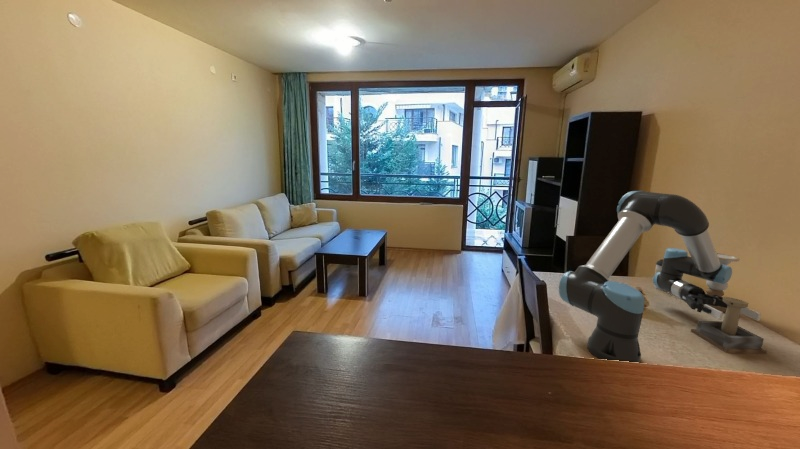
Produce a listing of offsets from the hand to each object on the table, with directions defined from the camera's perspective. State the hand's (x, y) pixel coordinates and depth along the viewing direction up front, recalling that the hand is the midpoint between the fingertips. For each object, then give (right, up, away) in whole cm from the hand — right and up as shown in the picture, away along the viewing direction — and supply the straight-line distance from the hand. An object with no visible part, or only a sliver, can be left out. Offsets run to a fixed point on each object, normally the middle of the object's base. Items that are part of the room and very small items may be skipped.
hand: (740, 316), depth 116 cm
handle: (-1, -10, +4) cm, 11 cm away
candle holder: (+23, -5, +35) cm, 42 cm away
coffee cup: (+16, -1, +55) cm, 57 cm away
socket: (-1, -10, +4) cm, 11 cm away
